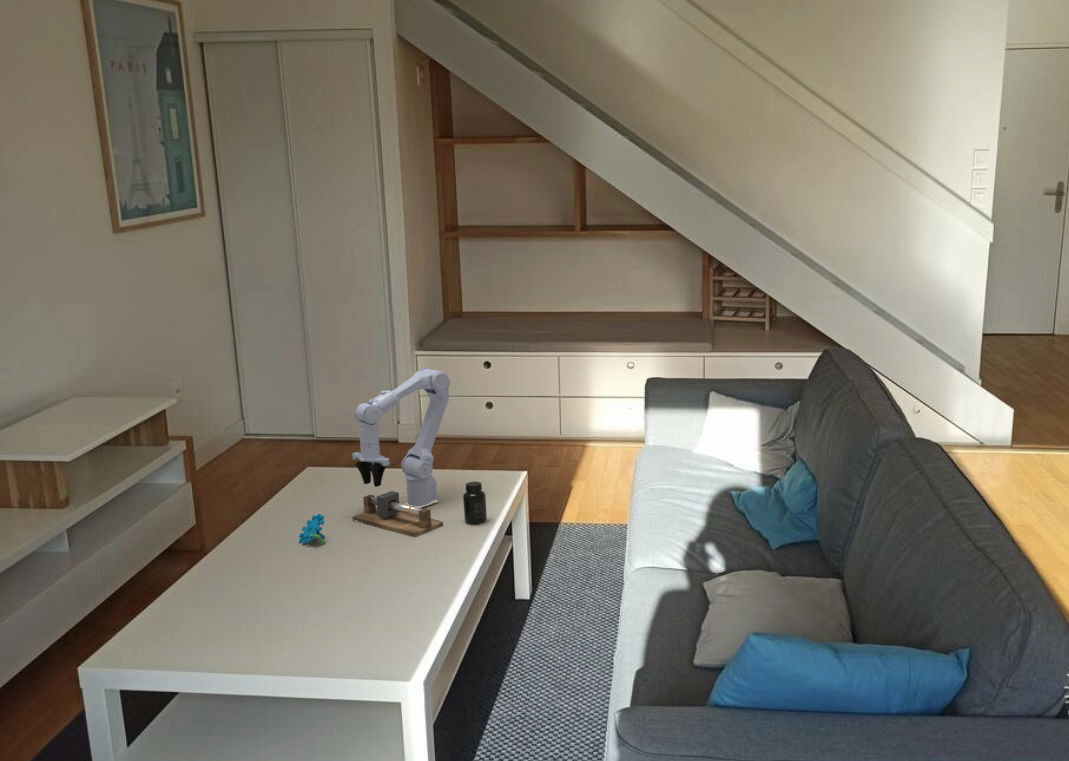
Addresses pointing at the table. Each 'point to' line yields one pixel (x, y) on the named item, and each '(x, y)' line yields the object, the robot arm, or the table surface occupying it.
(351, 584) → the table surface
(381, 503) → the collar
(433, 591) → the table surface
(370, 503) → the pipe stand
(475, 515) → the supplement bottle
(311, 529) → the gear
